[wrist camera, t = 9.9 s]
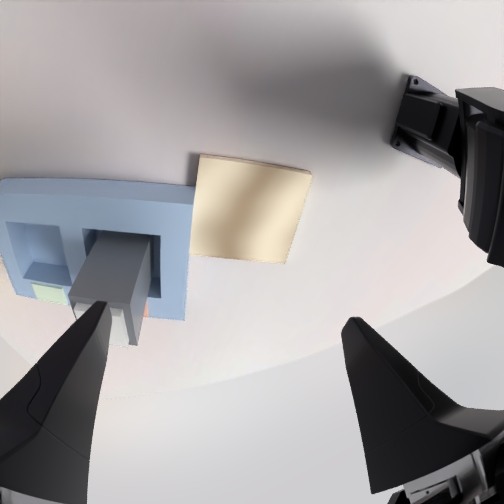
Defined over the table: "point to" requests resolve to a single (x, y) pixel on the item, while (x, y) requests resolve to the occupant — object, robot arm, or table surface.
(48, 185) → the dock
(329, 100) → the table surface
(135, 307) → the plug
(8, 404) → the robot arm
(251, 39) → the table surface
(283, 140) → the table surface
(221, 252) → the coaster
